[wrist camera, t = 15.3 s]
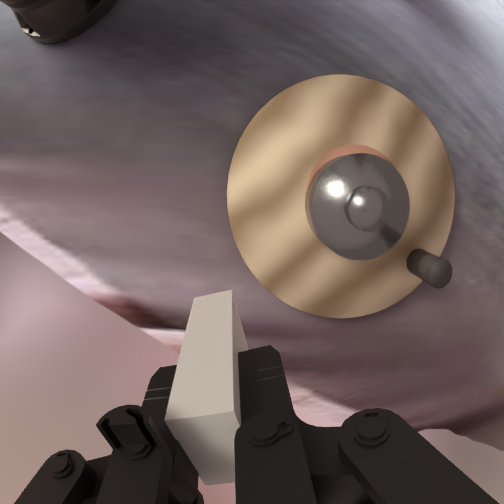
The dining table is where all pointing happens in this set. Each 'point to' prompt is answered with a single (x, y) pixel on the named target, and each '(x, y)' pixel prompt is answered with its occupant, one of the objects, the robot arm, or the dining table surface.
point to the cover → (357, 205)
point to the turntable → (297, 181)
